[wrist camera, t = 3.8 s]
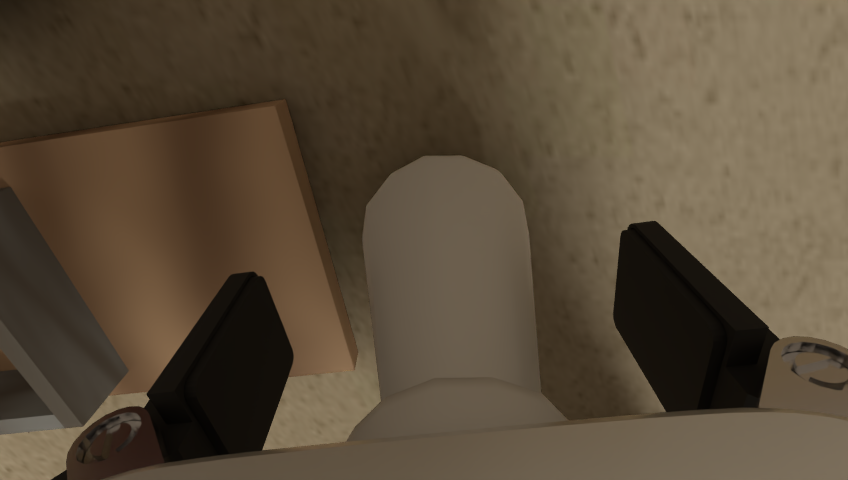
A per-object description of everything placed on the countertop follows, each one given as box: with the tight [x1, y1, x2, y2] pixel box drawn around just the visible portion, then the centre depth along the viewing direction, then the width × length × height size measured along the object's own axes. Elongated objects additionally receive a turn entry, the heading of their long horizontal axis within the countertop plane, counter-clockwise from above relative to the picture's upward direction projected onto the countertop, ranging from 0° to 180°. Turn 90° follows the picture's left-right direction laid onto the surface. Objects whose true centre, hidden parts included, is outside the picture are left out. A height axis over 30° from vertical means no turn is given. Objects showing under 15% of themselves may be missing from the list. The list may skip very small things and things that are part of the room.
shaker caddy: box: [0, 99, 358, 435], centre depth 17 cm, size 20×12×4 cm, turn 98°
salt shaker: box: [346, 155, 569, 442], centre depth 11 cm, size 6×6×13 cm
